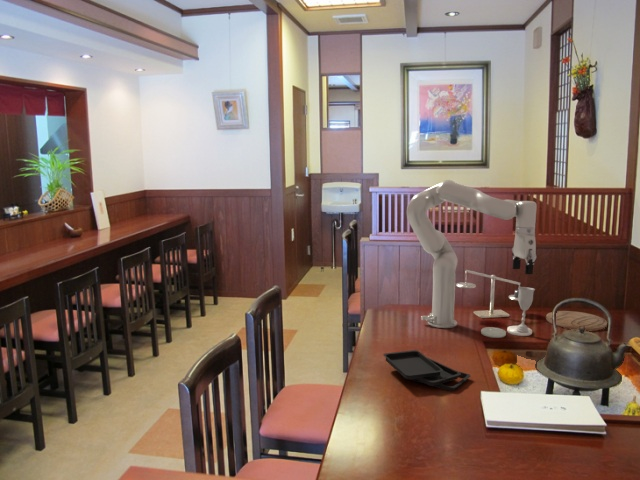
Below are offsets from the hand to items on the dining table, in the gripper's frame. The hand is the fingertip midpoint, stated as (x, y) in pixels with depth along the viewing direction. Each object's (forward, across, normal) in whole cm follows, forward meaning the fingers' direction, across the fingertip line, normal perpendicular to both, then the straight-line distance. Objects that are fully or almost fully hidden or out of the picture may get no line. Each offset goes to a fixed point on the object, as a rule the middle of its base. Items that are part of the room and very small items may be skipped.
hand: (522, 271), depth 235 cm
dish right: (+26, 0, 0) cm, 26 cm away
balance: (+26, +24, 0) cm, 36 cm away
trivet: (+27, +8, -32) cm, 43 cm away
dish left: (+26, 0, +12) cm, 29 cm away
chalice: (+25, -3, 0) cm, 25 cm away
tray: (+27, -38, +57) cm, 74 cm away
